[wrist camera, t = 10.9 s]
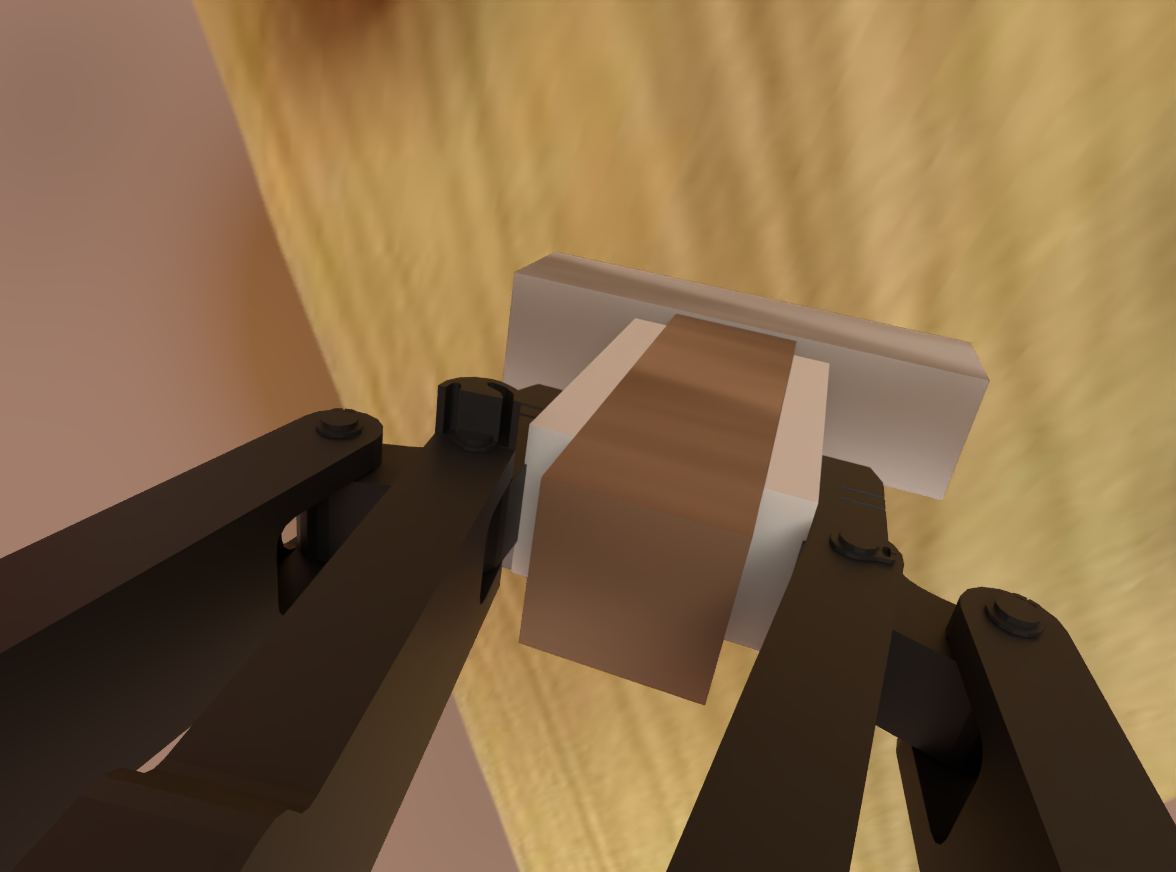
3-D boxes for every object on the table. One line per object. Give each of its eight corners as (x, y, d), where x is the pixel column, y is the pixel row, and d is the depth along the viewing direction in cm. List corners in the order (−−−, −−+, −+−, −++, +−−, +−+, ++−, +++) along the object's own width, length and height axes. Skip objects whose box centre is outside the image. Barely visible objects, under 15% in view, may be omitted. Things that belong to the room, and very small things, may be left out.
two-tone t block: (929, 449, 20) (1014, 816, 10) (542, 352, 23) (277, 567, 12) (970, 342, 19) (1117, 634, 9) (555, 251, 21) (272, 393, 11)
